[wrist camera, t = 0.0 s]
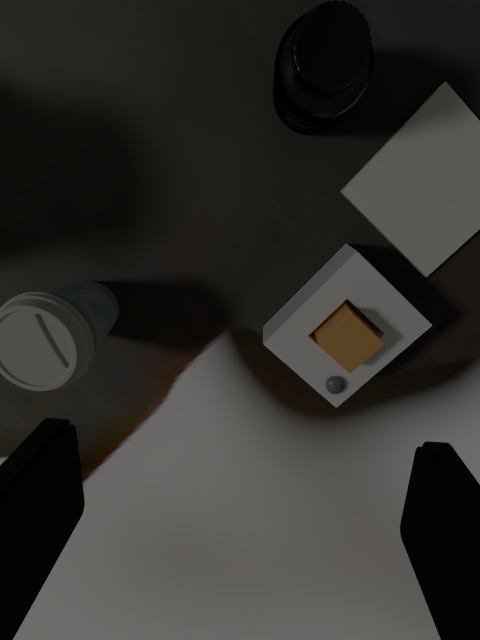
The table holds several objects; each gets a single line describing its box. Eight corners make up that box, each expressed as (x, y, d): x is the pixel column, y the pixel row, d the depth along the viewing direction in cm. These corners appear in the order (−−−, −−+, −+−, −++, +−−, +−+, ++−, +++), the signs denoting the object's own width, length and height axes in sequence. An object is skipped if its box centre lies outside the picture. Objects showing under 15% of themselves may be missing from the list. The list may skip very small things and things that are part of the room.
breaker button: (342, 300, 38) (352, 313, 34) (371, 326, 39) (384, 343, 34) (312, 328, 39) (318, 345, 35) (341, 354, 40) (350, 373, 36)
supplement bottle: (365, 97, 35) (413, 54, 24) (303, 152, 37) (321, 136, 25) (317, 29, 34) (345, -52, 22) (256, 89, 35) (252, 43, 24)
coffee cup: (128, 349, 44) (81, 405, 33) (53, 335, 44) (-20, 386, 33) (135, 276, 42) (86, 309, 30) (55, 261, 41) (-24, 289, 30)
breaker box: (345, 243, 39) (358, 252, 34) (413, 309, 41) (434, 326, 36) (263, 326, 42) (263, 345, 37) (328, 384, 44) (336, 410, 39)
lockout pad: (441, 83, 34) (445, 81, 34) (526, 181, 36) (532, 181, 36) (340, 191, 38) (341, 191, 37) (423, 275, 40) (426, 277, 39)
